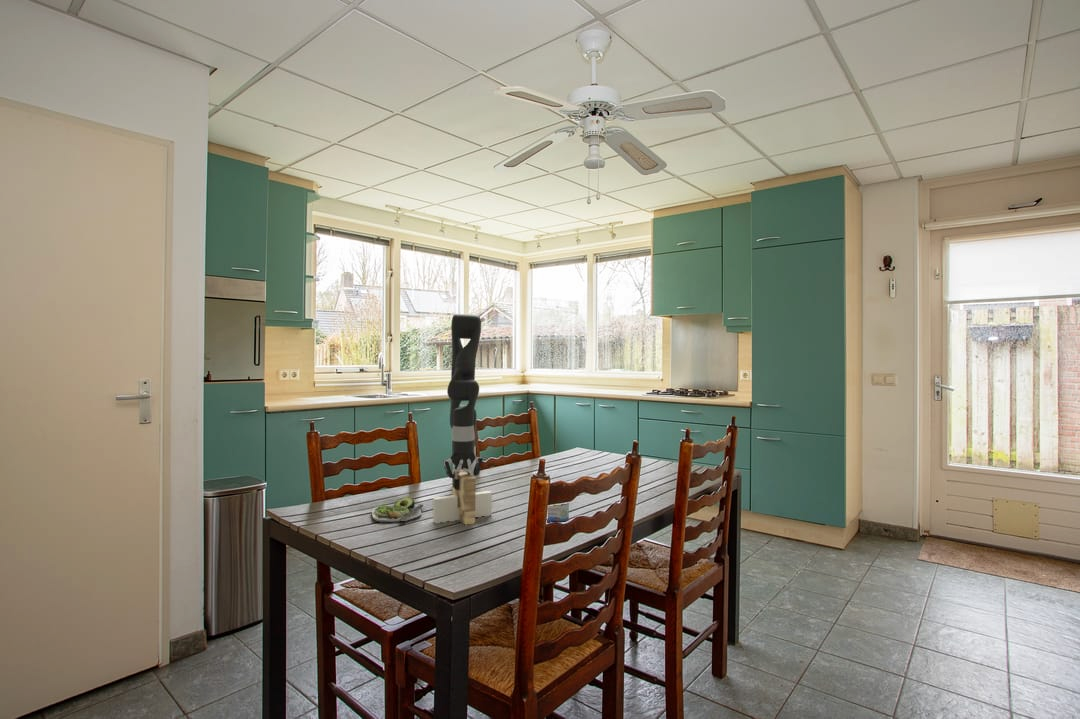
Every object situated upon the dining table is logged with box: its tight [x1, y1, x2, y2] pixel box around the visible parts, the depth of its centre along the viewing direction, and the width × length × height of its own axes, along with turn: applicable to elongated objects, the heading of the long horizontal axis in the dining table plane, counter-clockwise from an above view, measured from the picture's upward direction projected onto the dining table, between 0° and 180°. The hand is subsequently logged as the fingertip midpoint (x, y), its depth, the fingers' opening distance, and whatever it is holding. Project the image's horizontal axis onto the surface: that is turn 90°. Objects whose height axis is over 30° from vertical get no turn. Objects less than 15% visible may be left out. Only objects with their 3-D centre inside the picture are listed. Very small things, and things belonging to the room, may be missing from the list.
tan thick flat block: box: [451, 470, 477, 526], centre depth 185 cm, size 14×4×15 cm, turn 27°
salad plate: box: [371, 497, 424, 523], centre depth 187 cm, size 19×18×5 cm
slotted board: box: [432, 490, 493, 524], centre depth 185 cm, size 2×20×8 cm, turn 117°
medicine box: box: [546, 502, 570, 523], centre depth 184 cm, size 8×4×9 cm, turn 99°
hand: (463, 488), depth 184 cm, fingers open, 4 cm apart
